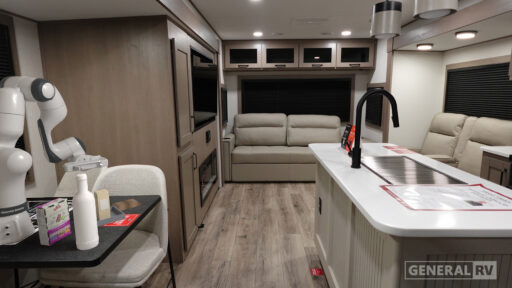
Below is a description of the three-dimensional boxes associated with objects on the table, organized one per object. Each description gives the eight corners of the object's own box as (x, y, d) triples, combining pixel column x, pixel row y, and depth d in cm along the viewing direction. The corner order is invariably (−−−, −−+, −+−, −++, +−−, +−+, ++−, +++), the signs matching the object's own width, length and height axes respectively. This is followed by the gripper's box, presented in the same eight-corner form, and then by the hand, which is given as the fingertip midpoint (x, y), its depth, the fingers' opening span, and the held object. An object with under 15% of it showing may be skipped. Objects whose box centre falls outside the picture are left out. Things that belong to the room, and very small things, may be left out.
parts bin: (91, 229, 131) (90, 223, 131) (81, 219, 142) (81, 213, 141) (125, 219, 142) (125, 213, 142) (114, 210, 153) (113, 205, 152)
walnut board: (119, 211, 151) (119, 210, 151) (111, 205, 159) (111, 203, 159) (141, 205, 160) (141, 204, 159) (132, 200, 168) (132, 198, 168)
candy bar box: (62, 232, 128) (58, 197, 126) (72, 233, 127) (68, 198, 125) (39, 245, 118) (34, 207, 115) (49, 246, 117) (44, 208, 114)
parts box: (99, 221, 138) (97, 193, 136) (96, 218, 142) (93, 191, 140) (110, 218, 142) (108, 191, 140) (107, 215, 145) (105, 188, 143)
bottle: (72, 247, 116) (64, 175, 111) (91, 238, 123) (85, 170, 118) (83, 252, 112) (76, 178, 107) (103, 243, 119) (96, 173, 114)
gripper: (60, 160, 149) (66, 164, 139) (102, 154, 163) (111, 158, 154) (61, 171, 150) (68, 177, 140) (103, 165, 164) (112, 169, 155)
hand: (91, 167), depth 147 cm, fingers open, 8 cm apart
